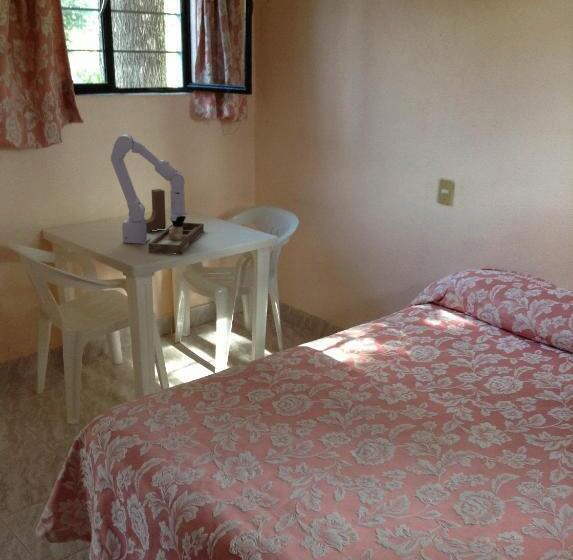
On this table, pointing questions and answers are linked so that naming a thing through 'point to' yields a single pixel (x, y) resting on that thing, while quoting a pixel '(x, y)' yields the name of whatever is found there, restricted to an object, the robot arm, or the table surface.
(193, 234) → the track
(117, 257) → the table surface
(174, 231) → the maple block
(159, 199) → the wooden block
